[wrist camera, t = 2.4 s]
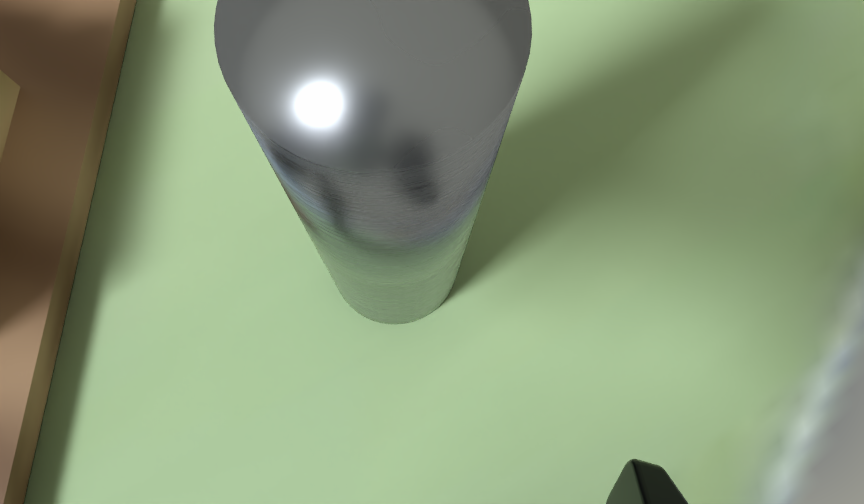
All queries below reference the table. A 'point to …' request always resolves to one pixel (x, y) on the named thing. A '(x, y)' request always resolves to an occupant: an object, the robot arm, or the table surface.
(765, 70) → the table surface
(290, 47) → the metal pin
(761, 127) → the table surface
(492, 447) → the table surface
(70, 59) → the socket board
